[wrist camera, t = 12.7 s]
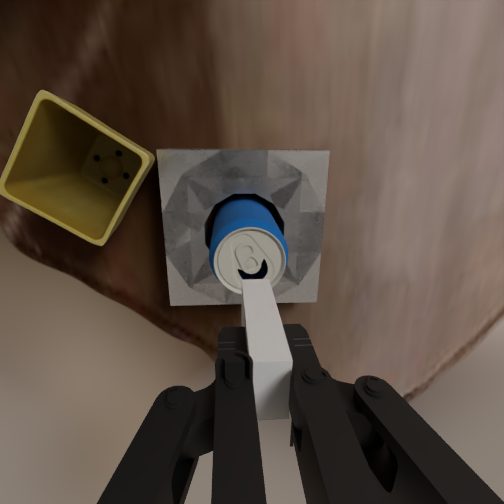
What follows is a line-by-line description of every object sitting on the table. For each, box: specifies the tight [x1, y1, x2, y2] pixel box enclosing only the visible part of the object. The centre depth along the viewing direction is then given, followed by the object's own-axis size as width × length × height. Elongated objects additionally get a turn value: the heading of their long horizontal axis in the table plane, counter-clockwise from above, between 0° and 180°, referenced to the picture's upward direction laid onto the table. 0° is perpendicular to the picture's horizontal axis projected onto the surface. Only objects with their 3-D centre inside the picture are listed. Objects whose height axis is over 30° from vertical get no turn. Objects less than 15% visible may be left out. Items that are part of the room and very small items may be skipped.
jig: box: [157, 148, 330, 306], centre depth 34 cm, size 16×16×4 cm
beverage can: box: [209, 196, 288, 294], centre depth 30 cm, size 6×6×12 cm
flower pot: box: [0, 90, 155, 246], centre depth 28 cm, size 9×9×9 cm
